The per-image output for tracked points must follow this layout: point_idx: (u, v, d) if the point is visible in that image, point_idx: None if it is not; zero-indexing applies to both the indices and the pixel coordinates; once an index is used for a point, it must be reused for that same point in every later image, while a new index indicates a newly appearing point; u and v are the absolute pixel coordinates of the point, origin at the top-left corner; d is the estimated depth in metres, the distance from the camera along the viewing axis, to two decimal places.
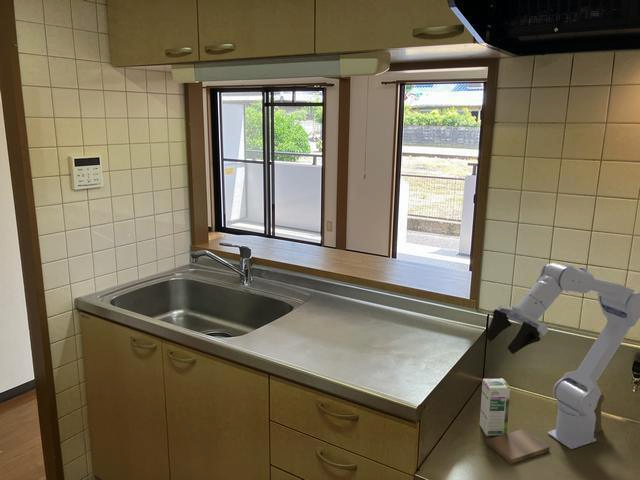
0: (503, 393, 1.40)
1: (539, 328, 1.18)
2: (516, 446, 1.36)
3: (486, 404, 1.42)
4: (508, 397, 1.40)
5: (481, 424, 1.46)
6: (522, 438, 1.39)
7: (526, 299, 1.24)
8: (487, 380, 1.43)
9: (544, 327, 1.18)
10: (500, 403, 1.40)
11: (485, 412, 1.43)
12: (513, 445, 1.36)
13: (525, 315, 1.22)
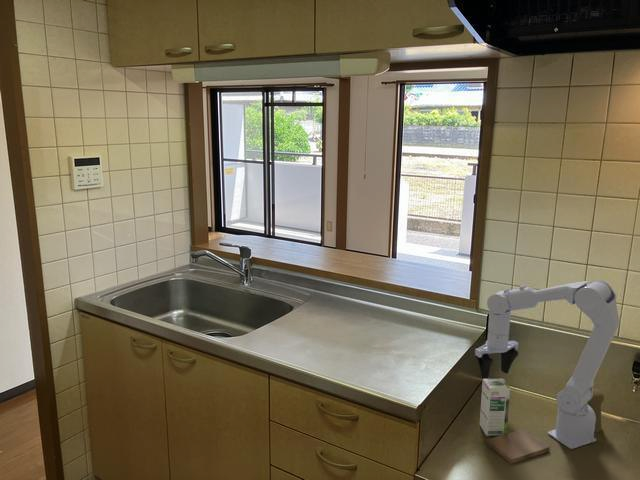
0: (503, 393, 1.40)
1: None
2: (516, 446, 1.36)
3: (486, 404, 1.42)
4: (508, 397, 1.40)
5: (481, 424, 1.46)
6: (522, 438, 1.39)
7: None
8: (487, 380, 1.43)
9: (476, 350, 1.50)
10: (500, 403, 1.40)
11: (485, 412, 1.43)
12: (513, 445, 1.36)
13: None
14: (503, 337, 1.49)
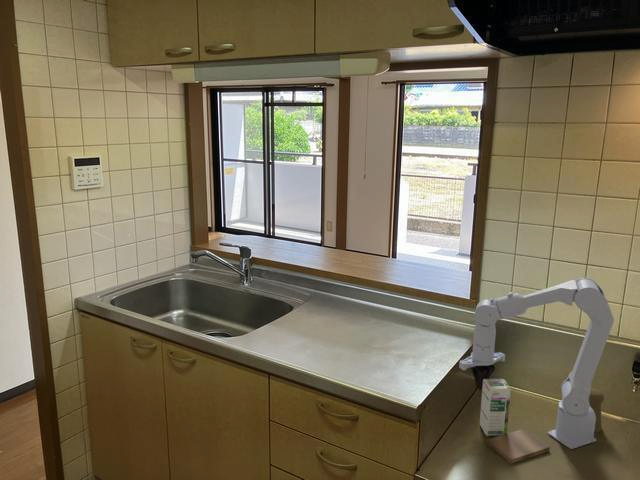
0: (503, 394, 1.39)
1: None
2: (516, 446, 1.36)
3: (486, 404, 1.42)
4: (508, 398, 1.40)
5: (481, 424, 1.46)
6: (522, 438, 1.39)
7: None
8: (488, 380, 1.43)
9: (460, 363, 1.43)
10: (500, 403, 1.40)
11: (485, 412, 1.43)
12: (513, 445, 1.36)
13: None
14: (488, 349, 1.42)
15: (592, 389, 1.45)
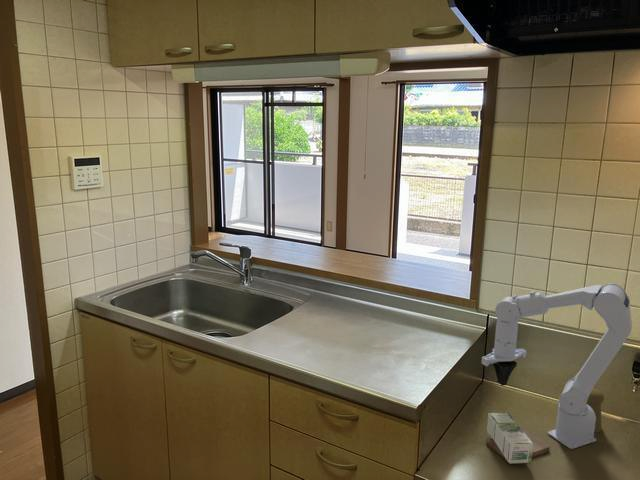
0: None
1: None
2: None
3: (500, 443, 1.34)
4: None
5: (489, 420, 1.40)
6: None
7: None
8: (513, 449, 1.28)
9: (482, 359, 1.45)
10: None
11: (496, 437, 1.36)
12: None
13: None
14: (511, 345, 1.44)
15: (592, 389, 1.45)
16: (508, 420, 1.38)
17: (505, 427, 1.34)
